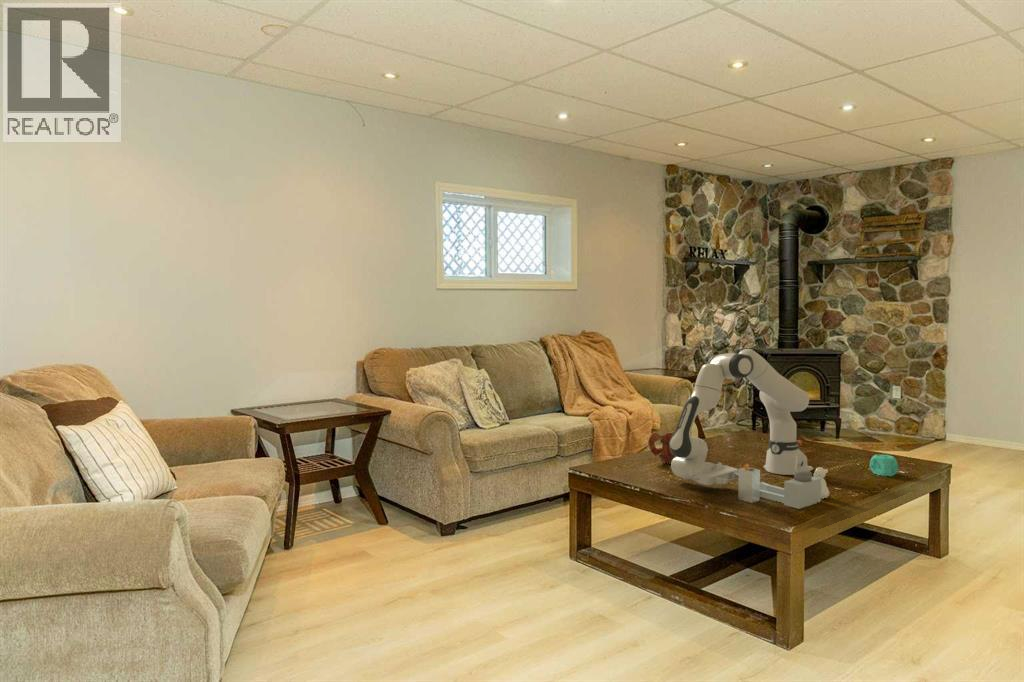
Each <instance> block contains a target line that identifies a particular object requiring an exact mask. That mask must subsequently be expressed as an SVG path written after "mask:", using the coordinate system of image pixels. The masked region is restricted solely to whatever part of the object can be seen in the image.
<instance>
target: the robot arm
mask: <svg viewBox="0 0 1024 682" xmlns="http://www.w3.org/2000/svg"><path fill="white" fill-rule="evenodd" d="M745 378H747V380H748V381H749V382H751V384H752V385H753V386H754V387H755V388H756V389H757V390H759V394H758V395H759V396H758V397H759V399H760V401H761V403H762V404H763V405H764V407H765V410H766V413H767V416H768V420H769V439H768V449H767V450H766V456H765V458H766V459H765V464H763V468H764V469H765V471H766V472H769V473H772V474H776V475H786V476H794V471H796V470H805V471H810V472H811V471H813V470H814V467H813V466H811V465H808V457H807V456H806V455H805V454H804V453H803V452H802V450H800V446H802V440H799V439H798V440H797V430H798V429H797V425H798V424H797V423H796V421H795V420H794V418H793V416H792V414H791V412H792V413H794V412H795V413H796V412H803V411H804V410H806V409H807V407H808V406H809V403H810V396H809V393H807V391H806V390H803V389H802V388H800V387H798V386H797V385H795V384H794V383H793V382H791V381H790V380H789V379H787V378H786V377H785V376H783V375H781V374H780V373H779V372H778V371H777V370H776V369H775V368H774V367H773V366H772V365H771V364H770V363H769V362H768V361H767V360H766V359H765V358H764V357H763V356H761V354H759V353H758V352H756V351H755V350H754V349H751V348H745V349H742V350H740V351H739V352H738V353H734V352H733V353H732V352H731V353H730V352H728V353H716V354H714V355H712V356H711V357H709V359H708V361H707V363H705V364H703V365H702V366H701V367H700V369H699V372H698V374H697V377H696V380H695V383H694V388H693V390H692V394H691V396H689V398H688V399H686V401H685V403H684V405H683V408H682V411H681V414H680V416H679V419H678V422H677V424H676V427H675V429H674V432H672V433H673V435H672V436H671V438H670V441H669V449H670V452H671V453H672V454H673V455H674V456H675V458H673V460H672V462H671V465H670V468H671V471H672V473H673V474H674V475H675V476H677V477H679V478H682V479H684V480H687V481H694V482H696V483H698V484H701V485H704V486H713V485H716V484H722V485H728V484H729V481H733V480H735V479H736V480H737V481H739V468H737V467H734V466H729V465H725V464H722V463H721V462H710V461H709V462H708V461H706V459H707V456H708V453H709V447H708V444H707V442H706V441H705V440H704V439H702V438H700V437H696V436H692V435H691V433H692V432H691V431H692V429H693V426H694V425H695V420H696V418H697V416H698V415H699V414H700V413H701V412H705V411H709V410H712V409H713V408H716V406H717V405H718V403H719V401H720V398H721V393H722V389H723V383H724V381H725V380H731V379H732V380H734V379H738V380H740V379H745Z"/></svg>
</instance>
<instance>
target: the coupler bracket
mask: <svg viewBox="0 0 1024 682" xmlns="http://www.w3.org/2000/svg"><path fill="white" fill-rule="evenodd" d="M812 475H813V473H812V472H811V471H805V470H796V471H794V475H793V476H794V478H792V479H789V480H785V481H784V483H783V484H784V486H783V487H781V486H776V485H773V484H769V483H766V482H764V481H760V498H761V497H762V499H765V500H769V501H773V502H776V501H777V503H780V502H781V504H783V505H784V506H785V507H790V508H794V509H798V510H800V509H803V508H806V507H810V506H812V505H815V504H818V503H821V502H820V501H822V499H821V478H817V477H814V476H812ZM817 502H818V503H817Z"/></svg>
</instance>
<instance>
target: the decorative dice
mask: <svg viewBox="0 0 1024 682" xmlns="http://www.w3.org/2000/svg"><path fill="white" fill-rule="evenodd" d="M869 468H870V470H871V472H872V474H874V475H875V474H877V475H876V476H879V475H881V476H880V477H887V476H889V477H894V476H895V475H896V474H897V472H898V471H899V470H898V468H899V463H898V460H897V459H896V458H895V457H894V456H893V455H890V454H889V455H888V454H874V455H873V456H872V457H871V459H870V461H869Z"/></svg>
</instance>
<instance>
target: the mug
mask: <svg viewBox="0 0 1024 682" xmlns="http://www.w3.org/2000/svg"><path fill="white" fill-rule="evenodd" d="M673 433H674V432H672V433H670V432H666V433H663V434H660V433H658V432H657V431H654V432H652V433H651V434H650V435H649V436H648V447H649V450H650V451H651V453H652V454H653V455H654V456H658V455H659V458H660V462H661V463H663V464H665V463H669V464H671V462H672V460H673V458H675V456H674V455H673V454H672V453H671V452H670V449H669V441H670V438H671V436H672V435H673ZM659 440H660V441H659ZM657 441H659V442H660V443H661V447H660V448H657V447H656V446H655V442H657ZM669 464H668V465H669Z"/></svg>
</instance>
